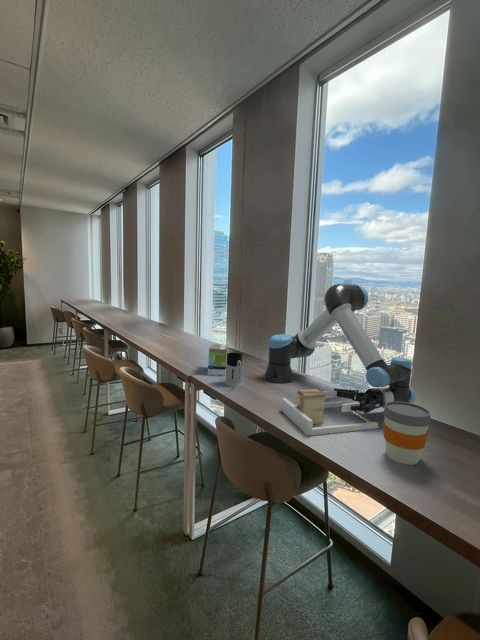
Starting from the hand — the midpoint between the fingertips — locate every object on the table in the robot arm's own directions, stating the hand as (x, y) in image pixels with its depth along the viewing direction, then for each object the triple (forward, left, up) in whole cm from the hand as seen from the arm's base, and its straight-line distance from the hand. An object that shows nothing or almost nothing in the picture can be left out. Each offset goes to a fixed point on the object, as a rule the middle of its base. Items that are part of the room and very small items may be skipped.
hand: (331, 401), depth 123 cm
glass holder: (-44, -25, -7) cm, 51 cm away
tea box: (-69, -28, -7) cm, 75 cm away
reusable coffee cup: (+29, +7, -7) cm, 30 cm away
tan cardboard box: (0, -9, -7) cm, 11 cm away
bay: (0, -1, -7) cm, 7 cm away
